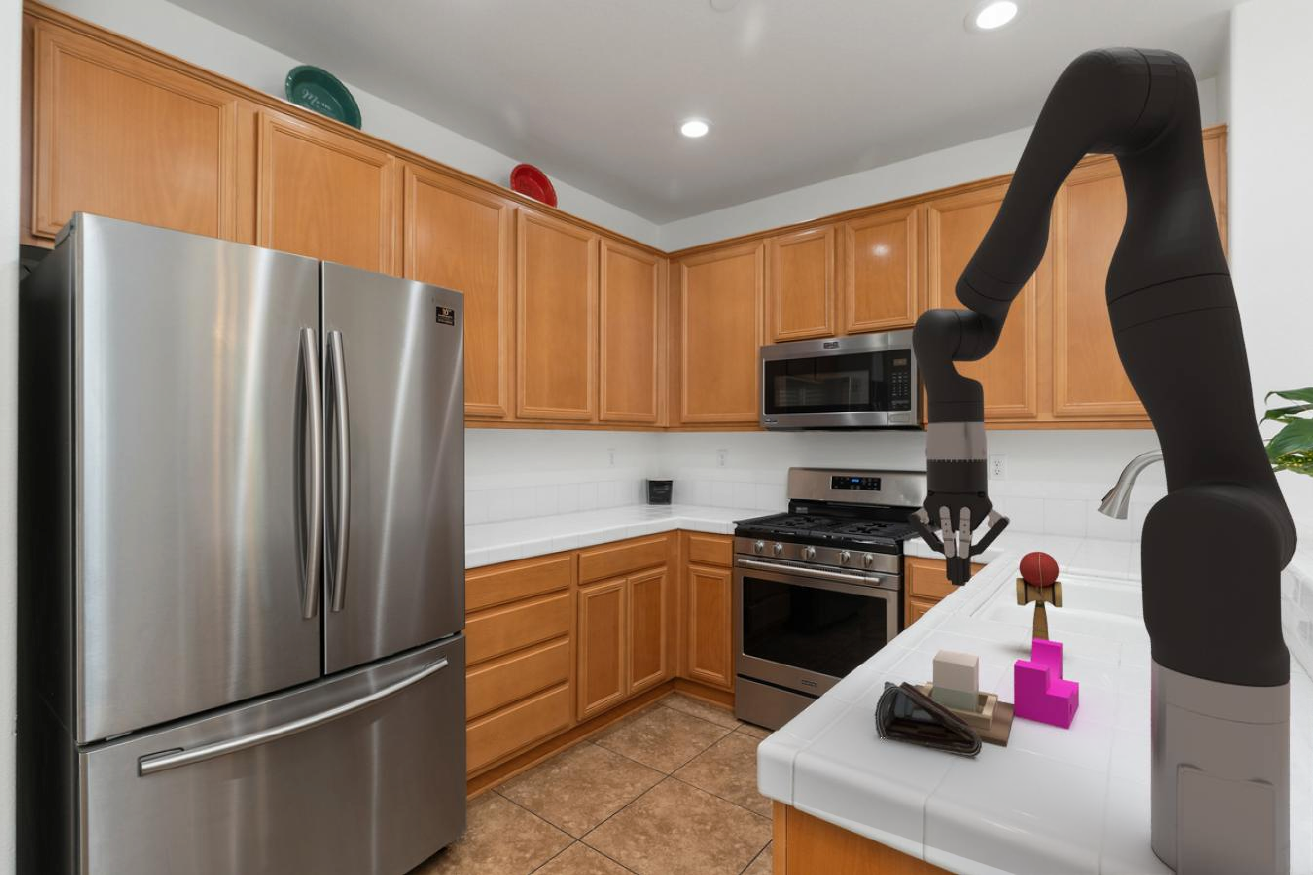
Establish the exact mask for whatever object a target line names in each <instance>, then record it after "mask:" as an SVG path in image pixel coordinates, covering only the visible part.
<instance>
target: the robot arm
mask: <svg viewBox="0 0 1313 875" xmlns="http://www.w3.org/2000/svg"><path fill="white" fill-rule="evenodd" d="M1201 116H1202V115H1201V104H1200V97H1199V90H1198V83H1197V80H1196V77H1195V74H1194V71H1193V69H1192V67H1191V66H1190V63H1189V62H1188V61H1187V60H1186V59H1185V58H1184V57H1183V56H1181V55H1180V54H1178V53H1175V52H1172V51H1171V50H1170V51H1169V50H1166V49H1160V48H1158V49H1157V48H1156V49H1155V48H1146V47H1145V48H1144V47H1143V48H1142V47H1134V46H1132V47H1131V46H1115V45H1113V46H1112V45H1111V46H1099V47H1093V48H1091V49H1088V50H1086V51H1085V52H1082V53H1081V54H1079V55H1078V56H1077V57H1076V58H1075V59H1073V60H1072V61H1071V62H1070V63H1069V64H1068V66H1067V67H1065V69H1064V70H1063V71H1062V73H1061V74H1060V76H1058V78H1057V80H1056V82H1055V84H1054V85H1053V87H1052V88H1051V89H1050V92H1049V94H1048V96H1047V98H1046V100H1045V102H1044V104H1043V106H1042V109H1041V110H1040V112H1039V115H1038V118H1037V120H1036V122H1035V124H1034V126H1033V129H1032V131H1031V133H1030V136H1029V138H1028V139H1027V140H1028V141H1027V143H1026V145H1025V148H1024V150H1023V152H1022V155H1021V157H1020V159H1019V161H1018V164H1017V166H1016V168H1015V171H1014V173H1013V175H1012V178H1011V180H1010V184H1009V186H1008V188H1007V190H1006V193H1005V196H1004V198H1003V199H1002V202H1001V205H1000V207H999V209H998V210H997V213H996V215H995V218H994V219H993V221H992V222H991V225H990V227H989V228H988V230H987V232H986V233H985V235H984V237H983V239H982V240H981V242H980V244H979V245H978V247H977V248H976V250H975V251H974V253H973V255H972V256H971V258H970V259H969V261H968V263H967V264H966V265H965V267H964V269H963V271H962V272H961V274H960V275H959V277H958V279H957V281H956V284H955V287H954V293H955V296H956V298H957V300H958V302H959V303H960V304H961V305H962V306H964V307H965V308H966V309H965V308H962V309H957V308H932V309H928V310H926V311H924V312H923V313H922V314H920V316H919V317H918V318H917V320H916V322H915V324H914V325H913V331H912V337H911V338H912V339H911V340H912V341H911V342H912V348H913V352H914V356H915V359H916V362H917V365H918V368H919V372H920V374H921V378H922V382H923V385H924V389H925V392H926V398H927V399H926V401H927V402H926V406H927V429H926V436H925V437H926V438H925V450H924V451H925V457H926V461H925V464H926V465H925V466H926V469H925V470H926V496H925V498H924V499H923V502H922V507H921V508H919V510H917V511H915V512H913V513H911V514H908V516H907V521H908V522H909V523H910V525H911V526H912V528H913V529H914V530H915V531H916V532H917V533H918V535H919V536H920V537H921V538H922V539H923V541H924V542H925V543H926V544H927V546H928V547H929V548H930V549H931V551H932V552H934V553H937V552H938V553H940V554H942V555H944V557H945V562H946V563H945V564H946V565H945V566H946V567H945V568H946V569H945V570H946V571H945V572H946V573H945V574H946V579H947V581H949V582H951V586H957V587H965V586H966V584H967V583H969V582H970V580H971V578H972V569H971V568H972V566H971V565H972V563H971V562H972V561H971V560H972V559H971V558H972V557H975V556H979V555H983V553H984V552H985V551H986V550H988V548H989V547H990V546H991V545H992V543H993V542H994V541H995V540H996V539H997V538H998V536H1000V534H1002V533H1003V531H1005V529H1006V528H1007V526H1009V525H1010V523H1011V520H1010V518H1009V517H1008V516H1003V515H1002V514H1000V513H999V512H998V511H996V510H995V509H994V508H993V506H994V505H993V502H992V501H991V499H990V497H989V479H988V478H989V474H988V438H987V432H986V427H985V426H986V425H985V394H984V387H983V384H982V383H981V382H980V381H978V380H976V379H973V378H970V377H966V376H963V375H962V374H960V373H959V372H958V370H957V368H956V366H955V362H977V361H979V360H980V361H981V360H982V359H984V358H985V357H987V356H988V355H989V354H990V353H991V352H993V350H994V349H995V348H996V346H997V344H998V342H999V339H1000V336H1001V334H1002V331H1003V328H1004V324H1005V322H1006V319H1007V317H1008V314H1009V311H1010V308H1011V306H1012V303H1013V302H1014V301H1015V300H1016V298H1017V297H1018V295H1019V294H1020V292H1021V291H1022V290H1023V289H1024V287H1025V286H1026V284H1027V283H1028V281H1029V280H1030V279H1031V277H1032V276H1033V275H1034V273H1035V272H1036V271H1037V269H1038V267H1039V266H1040V263H1042V260H1043V259H1044V256H1045V254H1046V250H1047V248H1048V243H1049V239H1050V238H1049V237H1050V230H1051V227H1050V226H1051V218H1052V217H1051V216H1052V209H1053V206H1054V202H1055V198H1056V196H1057V194H1058V193H1059V190H1060V188H1061V186H1062V185H1063V183H1064V182H1065V181H1066V180H1067V178H1068V176H1070V174H1071V172H1072V171H1073V170H1074V168H1075V167H1076V166H1078V164H1079V163H1080V162H1081V161H1082V159H1084V157H1085V156H1086V155H1093V154H1094V155H1113V156H1114V158H1115V159H1116V162H1117V163H1118V167H1119V169H1120V173H1121V177H1122V181H1123V186H1124V192H1125V195H1126V196H1125V197H1126V216H1125V222H1124V225H1123V228H1122V232H1121V234H1120V237H1119V239H1118V242H1117V244H1116V246H1115V249H1114V252H1113V255H1112V257H1111V261H1110V263H1109V266H1108V269H1107V274H1106V278H1105V282H1104V283H1105V284H1104V285H1105V286H1104V295H1105V304H1106V307H1107V314H1108V317H1109V322H1110V328H1111V331H1112V332H1111V333H1112V336H1113V340H1114V344H1115V348H1116V351H1117V355H1118V358H1119V359H1120V362H1121V366H1122V367H1123V370H1124V372H1125V374H1126V376H1127V378H1128V380H1129V382H1130V384H1131V386H1132V388H1133V390H1134V391H1135V394H1136V395H1137V397H1138V400H1140V403H1141V404H1142V406H1143V408H1144V410H1145V412H1146V414H1147V416H1148V417H1149V419H1150V422H1151V423H1152V425H1153V427H1154V430H1155V433H1156V435H1157V439H1158V442H1159V445H1160V449H1161V454H1162V460H1163V465H1164V474H1165V479H1166V480H1165V482H1166V491H1167V494H1166V495H1165V496H1163V497H1161V498H1160V499H1159V500H1157V501H1156V502H1154V503H1153V506H1152V507H1151V508H1150V509H1149V510H1148V513H1147V514H1146V516H1145V519H1144V522H1143V524H1142V530H1141V535H1140V536H1141V538H1140V577H1141V578H1140V579H1141V580H1140V581H1141V604H1142V605H1141V606H1142V618H1143V623H1144V626H1145V630H1146V632H1147V634H1148V636H1149V642H1150V844H1151V849H1152V850H1153V851H1154V853H1155V855H1157V857H1159V858H1160V860H1161V861H1163V862H1164V863H1165V864H1166V865H1167V866H1169V867H1170V868H1171V869H1173V870H1174V871H1175V873H1176V874H1177V875H1291V653H1290V650H1289V648H1288V646H1287V644H1286V642H1285V638H1284V634H1283V627H1282V626H1283V622H1282V572H1283V571H1284V570H1285V569H1286V568H1287V567H1288V565H1289V564H1290V563H1291V562H1292V560H1293V558H1294V555H1295V553H1296V550H1297V545H1298V534H1297V528H1296V525H1295V524H1296V523H1295V521H1294V518H1293V516H1292V513H1291V511H1290V508H1289V506H1288V504H1287V501H1286V499H1285V497H1284V494H1283V492H1282V489H1281V487H1280V484H1279V482H1278V480H1277V476H1276V473H1275V471H1274V469H1273V466H1272V463H1271V460H1270V458H1269V455H1268V453H1267V450H1266V447H1265V444H1264V441H1263V438H1262V435H1261V432H1260V427H1259V425H1258V421H1257V414H1256V408H1255V401H1254V392H1253V386H1252V376H1251V370H1250V364H1249V359H1248V352H1247V347H1246V341H1245V337H1244V330H1243V325H1242V318H1241V313H1240V310H1239V306H1238V301H1237V296H1236V293H1235V288H1234V285H1233V280H1232V276H1231V272H1230V269H1229V265H1228V262H1227V260H1226V254H1225V252H1224V250H1223V245H1222V241H1221V236H1220V232H1219V227H1218V222H1217V217H1216V212H1215V208H1214V203H1213V199H1212V194H1211V190H1210V185H1209V179H1208V173H1207V167H1206V158H1205V150H1204V149H1205V148H1204V138H1203V129H1202V117H1201ZM928 516H929V517H930V518H931V520H932V521H933V522H934V524H935V525H936V526H937V528H939V529H940V530H941V535H942V540H943V541H942V540H941V539H940V538H939V536H938V535H937V534H936V533H935V531H934V530H933V529H932V528H931V527H930V525H929V524H928V523H929V522H930V518H929V517H928ZM987 517H988V518H989V519H988V521H987V526H988V528H990V529H989V530H988V531H987V532H986V533H985V534H984V535H983V536H982V538H980V540H979V541H978V542H977V543H976V544H972V543H973V536H974V535H973V534H974V531H975V530H977V529H978V528H979V527H980V526H981V524H983V522H984V521H985V520H986V518H987ZM957 531H958V540H957ZM957 541H958V542H957Z"/></svg>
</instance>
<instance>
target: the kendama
mask: <svg viewBox="0 0 1313 875" xmlns="http://www.w3.org/2000/svg"><path fill="white" fill-rule="evenodd" d="M1019 572H1020V575H1021V576H1022V577H1016V578H1015V579H1016V580H1015V582H1016V584H1015V585H1016V600H1017V601H1016V603H1017V605H1018V606H1026V605H1029V603H1031V602H1034V601H1035V603H1034V609H1033V618H1032V630H1031V631H1032V634H1031V641H1032V640H1033V639H1034V638H1036V639H1042V640H1048V641H1050V636H1049V624H1048V623H1049V622H1048V616H1047V612H1046V611H1047V610H1046V605H1045V604H1046V603H1049V604H1051V605H1053V607H1055V608H1063V589H1062V587H1063V586H1062V582H1061V581H1058V578H1059V575H1060V567H1059V564H1058V562H1057V560H1056V559H1055V558H1054V557H1053V556H1051V555H1050V554H1048V553H1046V552H1042V551H1034V552H1029V553H1027V554H1026V555H1024V556H1022V558H1021V560H1020V563H1019ZM1030 647H1031V648H1032V645H1031V646H1030ZM1031 648H1030V649H1031Z"/></svg>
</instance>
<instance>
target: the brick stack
mask: <svg viewBox="0 0 1313 875" xmlns="http://www.w3.org/2000/svg"><path fill="white" fill-rule="evenodd" d="M979 658H980V656H979V655H976V654H975V655H974V654H968V653H964V652H963V653H961V652H958V651H957V652H955V651H951V650H943V649H938V651H937V652H936V654H935V655H934V658H933V659H932V682H933V700H934V701H935V702H938V701H940V702H942V703H943V704H944V705H945V706H946V707H951V708H956V709H960V710H965V711H970V712H975V713H977V711H978V708H979V691H980V690H979V689H980V688H979V687H980V682H979V681H980V680H979V679H980V673H979V672H980V662H979V660H980V659H979Z"/></svg>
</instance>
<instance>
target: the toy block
mask: <svg viewBox="0 0 1313 875" xmlns="http://www.w3.org/2000/svg"><path fill="white" fill-rule="evenodd" d="M1031 646H1032V648H1030V661H1027V660H1023V659H1022V660H1021V659H1017V660H1016V662H1015V663H1014V665H1013V704H1014V717H1017V718H1021V719H1025V720H1030V721H1034V722H1037V723H1041V724H1045V725H1049V726H1053V727H1058V728H1061V729H1065V730H1069V729H1070V727H1071V725H1072V722H1073V720H1074V718H1075V715H1076V713H1077V710H1078V708H1079V705H1080V701H1079V700H1080V694H1079V692H1080V690H1079V688H1080V682H1078V681H1072V680H1067V679H1064V652H1063V651H1064V643H1063V642H1060V641H1059V642H1058V641H1052V640H1049V641H1048V640H1042V639H1036V638H1034V639H1033V640H1032V639H1031Z"/></svg>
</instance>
